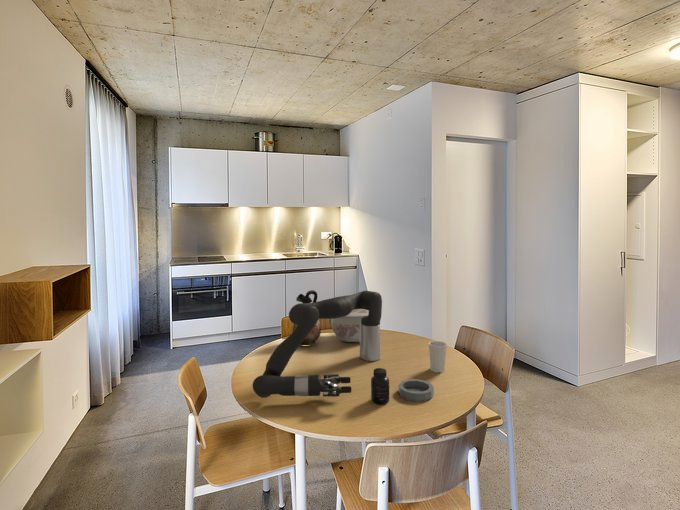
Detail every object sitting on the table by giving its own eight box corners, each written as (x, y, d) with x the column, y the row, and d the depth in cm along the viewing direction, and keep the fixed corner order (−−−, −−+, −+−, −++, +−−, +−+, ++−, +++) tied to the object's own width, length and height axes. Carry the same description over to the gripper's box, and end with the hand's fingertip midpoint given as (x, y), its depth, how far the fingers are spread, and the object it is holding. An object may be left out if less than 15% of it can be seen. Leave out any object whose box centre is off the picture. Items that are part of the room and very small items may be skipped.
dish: (394, 397, 151) (394, 389, 150) (405, 384, 162) (405, 377, 162) (427, 404, 144) (427, 396, 144) (436, 390, 156) (437, 383, 156)
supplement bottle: (369, 397, 151) (369, 367, 150) (387, 396, 151) (387, 366, 150) (372, 405, 144) (372, 374, 143) (391, 404, 145) (391, 373, 143)
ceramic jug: (300, 350, 206) (299, 294, 203) (288, 343, 219) (287, 290, 216) (328, 344, 215) (327, 290, 212) (315, 337, 228) (314, 286, 225)
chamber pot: (382, 345, 213) (382, 307, 211) (333, 348, 209) (332, 310, 207) (370, 330, 241) (370, 297, 239) (326, 333, 236) (325, 299, 234)
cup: (447, 373, 173) (447, 347, 171) (428, 372, 174) (428, 346, 173) (446, 367, 180) (446, 341, 179) (428, 366, 182) (428, 340, 181)
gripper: (306, 383, 139) (351, 382, 139) (308, 368, 153) (350, 367, 154) (306, 404, 140) (352, 403, 140) (308, 387, 154) (350, 386, 154)
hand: (350, 384), depth 147 cm, fingers open, 8 cm apart
